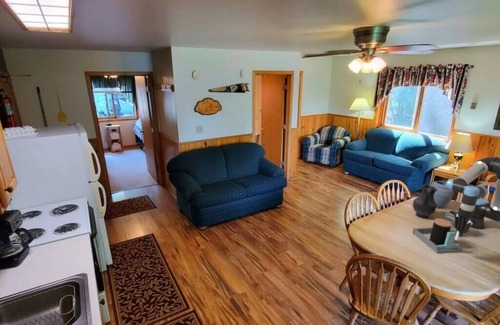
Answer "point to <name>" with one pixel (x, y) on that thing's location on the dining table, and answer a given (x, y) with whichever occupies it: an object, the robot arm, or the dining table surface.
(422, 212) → the pitcher
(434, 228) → the coffee jar
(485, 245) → the dining table surface
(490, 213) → the robot arm
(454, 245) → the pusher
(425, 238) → the grey piece
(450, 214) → the apothecary jar
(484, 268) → the dining table surface
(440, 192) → the vase
